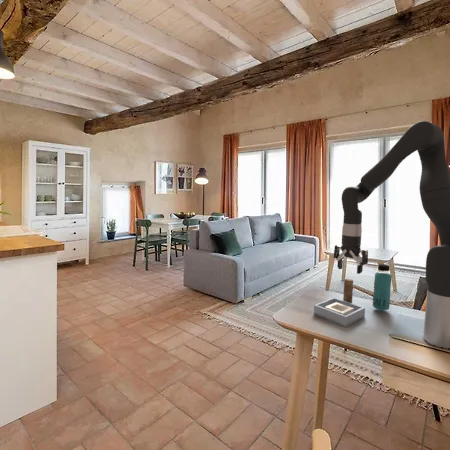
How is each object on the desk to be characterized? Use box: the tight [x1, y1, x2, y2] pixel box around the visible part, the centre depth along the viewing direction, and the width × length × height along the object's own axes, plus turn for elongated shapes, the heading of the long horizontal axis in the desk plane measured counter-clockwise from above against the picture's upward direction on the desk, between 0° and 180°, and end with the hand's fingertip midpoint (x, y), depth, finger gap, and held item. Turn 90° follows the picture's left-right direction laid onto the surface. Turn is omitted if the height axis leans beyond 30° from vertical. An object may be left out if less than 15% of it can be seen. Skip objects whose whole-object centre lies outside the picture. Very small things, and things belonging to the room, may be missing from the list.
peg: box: [342, 278, 354, 304], centre depth 128 cm, size 4×4×12 cm
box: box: [313, 297, 366, 328], centre depth 119 cm, size 14×14×4 cm
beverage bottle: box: [372, 263, 393, 311], centre depth 123 cm, size 6×7×20 cm
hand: (349, 271), depth 127 cm, fingers open, 8 cm apart
